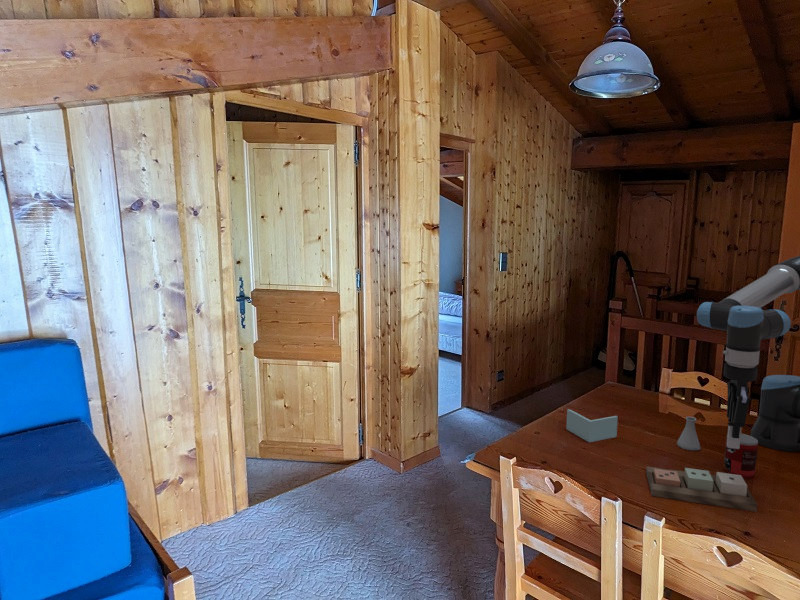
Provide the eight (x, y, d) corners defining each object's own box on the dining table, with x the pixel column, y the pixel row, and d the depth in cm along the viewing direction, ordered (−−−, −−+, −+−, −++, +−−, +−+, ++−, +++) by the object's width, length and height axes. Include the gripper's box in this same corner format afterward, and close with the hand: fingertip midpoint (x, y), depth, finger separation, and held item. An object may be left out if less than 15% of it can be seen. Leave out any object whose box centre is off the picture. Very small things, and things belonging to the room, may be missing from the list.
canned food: (725, 463, 163) (728, 430, 161) (756, 471, 158) (759, 437, 156) (721, 472, 157) (724, 438, 155) (753, 481, 152) (756, 445, 150)
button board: (741, 485, 149) (742, 479, 149) (756, 511, 136) (757, 504, 136) (645, 472, 157) (646, 466, 157) (651, 495, 144) (652, 489, 144)
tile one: (739, 485, 146) (741, 474, 145) (746, 496, 140) (747, 485, 140) (715, 482, 148) (716, 471, 147) (720, 493, 142) (721, 481, 142)
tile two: (707, 481, 148) (708, 470, 148) (712, 491, 143) (713, 480, 142) (683, 478, 150) (684, 467, 150) (687, 488, 145) (688, 477, 144)
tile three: (675, 481, 151) (676, 471, 151) (679, 491, 146) (680, 481, 145) (653, 478, 153) (653, 468, 153) (655, 488, 148) (656, 477, 147)
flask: (704, 452, 171) (706, 423, 169) (680, 450, 172) (682, 421, 170) (696, 442, 178) (699, 415, 176) (673, 441, 179) (675, 413, 177)
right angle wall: (616, 436, 183) (617, 416, 182) (588, 442, 179) (590, 421, 177) (592, 424, 194) (593, 405, 193) (566, 429, 190) (567, 409, 188)
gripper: (719, 356, 146) (711, 435, 150) (730, 369, 134) (722, 455, 137) (750, 358, 143) (742, 439, 147) (765, 372, 131) (756, 459, 135)
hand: (732, 447), depth 142 cm, fingers closed
